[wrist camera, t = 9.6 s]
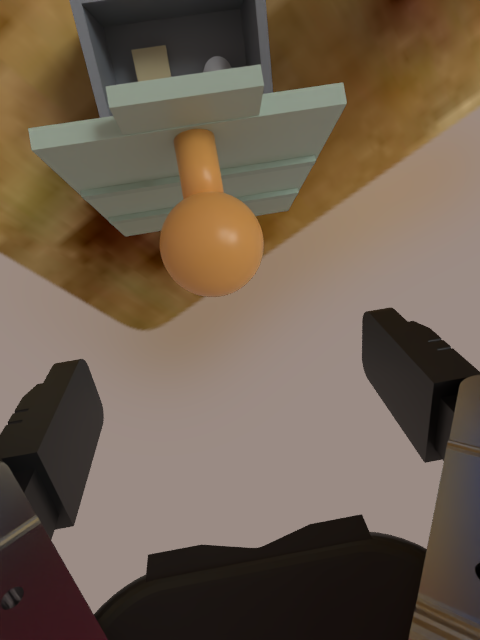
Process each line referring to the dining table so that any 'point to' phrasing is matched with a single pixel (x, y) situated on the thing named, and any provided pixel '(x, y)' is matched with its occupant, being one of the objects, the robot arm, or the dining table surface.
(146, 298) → the dining table surface
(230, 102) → the lid
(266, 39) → the parts tub
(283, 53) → the dining table surface
